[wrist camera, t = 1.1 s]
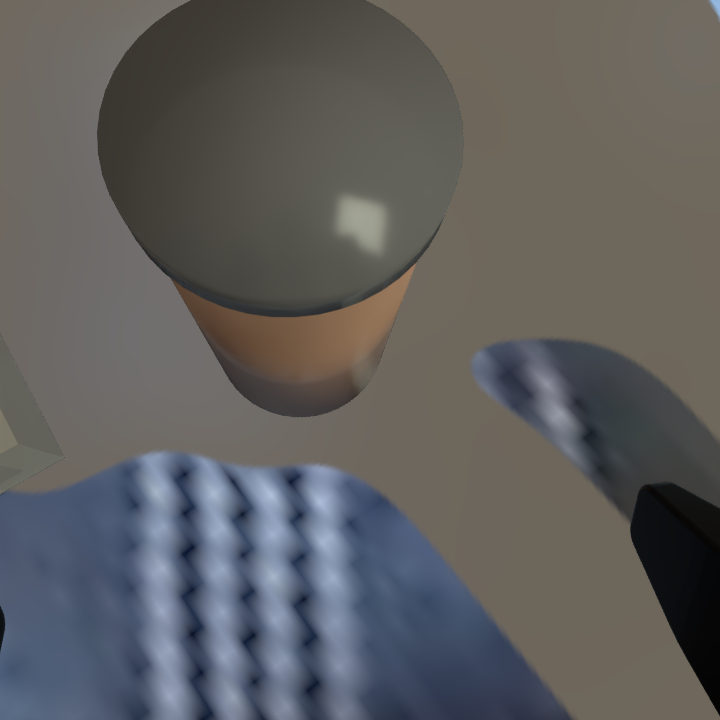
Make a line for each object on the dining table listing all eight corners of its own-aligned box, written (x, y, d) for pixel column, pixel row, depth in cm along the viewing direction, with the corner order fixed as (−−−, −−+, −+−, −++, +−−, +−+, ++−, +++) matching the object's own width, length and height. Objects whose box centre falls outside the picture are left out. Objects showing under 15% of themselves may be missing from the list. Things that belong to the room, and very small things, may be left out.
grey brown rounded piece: (341, 454, 22) (369, 363, 10) (178, 373, 23) (21, 194, 11) (416, 299, 24) (516, 68, 12) (264, 227, 24) (214, -68, 12)
